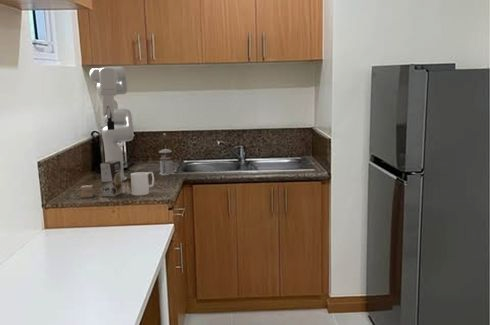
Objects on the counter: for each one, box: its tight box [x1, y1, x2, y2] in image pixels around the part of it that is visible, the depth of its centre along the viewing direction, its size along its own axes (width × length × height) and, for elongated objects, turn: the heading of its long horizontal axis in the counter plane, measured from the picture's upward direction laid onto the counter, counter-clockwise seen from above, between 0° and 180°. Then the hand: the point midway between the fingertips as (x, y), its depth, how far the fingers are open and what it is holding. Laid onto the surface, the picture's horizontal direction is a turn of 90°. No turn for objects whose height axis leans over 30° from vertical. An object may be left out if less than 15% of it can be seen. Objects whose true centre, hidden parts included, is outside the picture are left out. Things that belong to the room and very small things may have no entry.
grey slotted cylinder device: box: [158, 132, 176, 176], centre depth 286 cm, size 10×12×25 cm
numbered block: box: [80, 184, 95, 199], centre depth 228 cm, size 5×5×5 cm
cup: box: [130, 171, 155, 196], centre depth 231 cm, size 8×12×10 cm
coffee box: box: [100, 161, 123, 197], centre depth 229 cm, size 9×6×16 cm
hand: (111, 129), depth 238 cm, fingers closed
